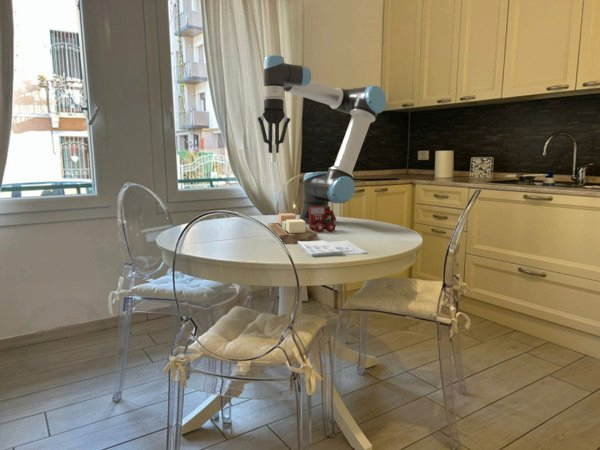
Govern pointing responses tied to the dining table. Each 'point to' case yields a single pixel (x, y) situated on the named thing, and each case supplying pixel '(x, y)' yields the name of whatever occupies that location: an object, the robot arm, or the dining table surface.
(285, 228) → the pale green square block
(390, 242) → the dining table surface
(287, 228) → the cream yellow square block
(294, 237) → the board
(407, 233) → the dining table surface
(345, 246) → the printed paper napkins
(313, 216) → the toy fire truck
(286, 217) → the salmon orange square block
